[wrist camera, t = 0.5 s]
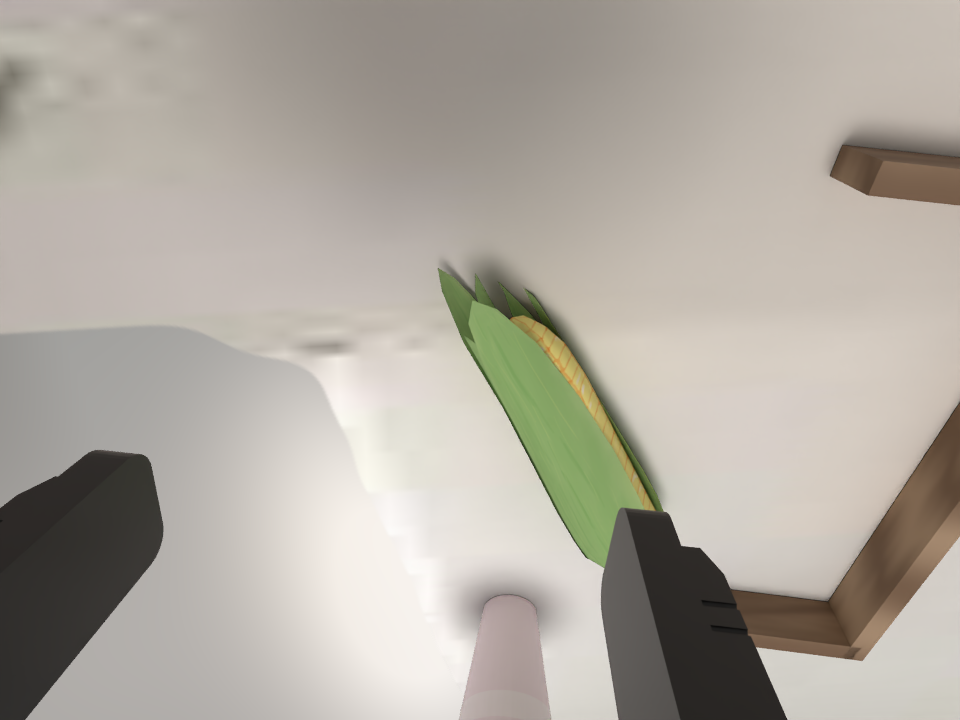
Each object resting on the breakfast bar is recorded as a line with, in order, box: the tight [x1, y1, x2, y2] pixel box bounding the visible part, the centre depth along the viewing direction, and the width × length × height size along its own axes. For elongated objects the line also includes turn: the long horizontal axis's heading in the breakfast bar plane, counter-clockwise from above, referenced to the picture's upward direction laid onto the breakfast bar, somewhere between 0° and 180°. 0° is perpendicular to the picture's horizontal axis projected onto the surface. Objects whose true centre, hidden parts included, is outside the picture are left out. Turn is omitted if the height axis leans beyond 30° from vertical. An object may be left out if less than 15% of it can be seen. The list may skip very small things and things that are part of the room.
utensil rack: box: [731, 145, 960, 661], centre depth 28 cm, size 28×12×3 cm, turn 175°
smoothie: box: [459, 595, 551, 720], centre depth 33 cm, size 6×6×14 cm
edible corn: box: [438, 268, 663, 568], centre depth 28 cm, size 5×20×4 cm
